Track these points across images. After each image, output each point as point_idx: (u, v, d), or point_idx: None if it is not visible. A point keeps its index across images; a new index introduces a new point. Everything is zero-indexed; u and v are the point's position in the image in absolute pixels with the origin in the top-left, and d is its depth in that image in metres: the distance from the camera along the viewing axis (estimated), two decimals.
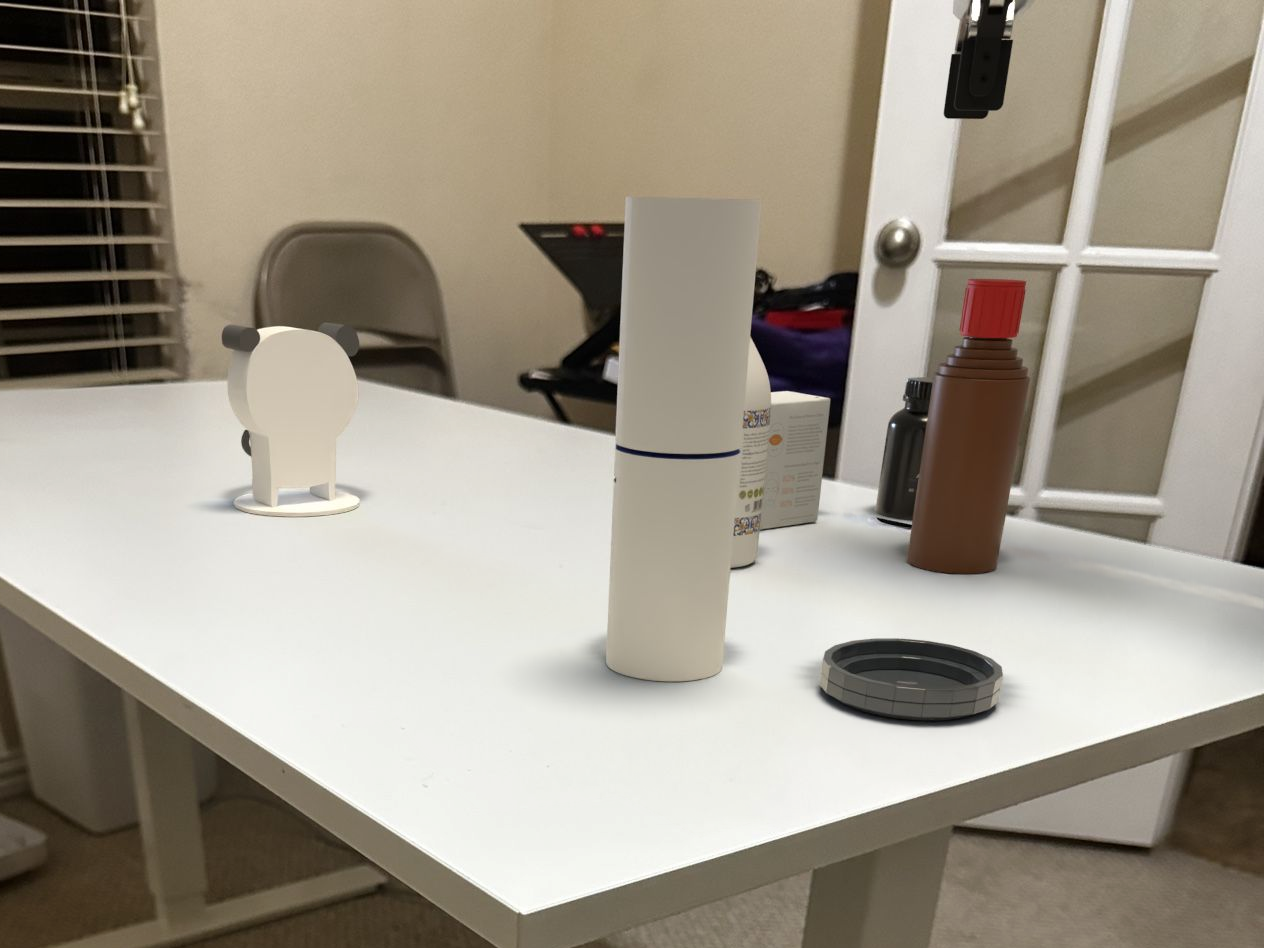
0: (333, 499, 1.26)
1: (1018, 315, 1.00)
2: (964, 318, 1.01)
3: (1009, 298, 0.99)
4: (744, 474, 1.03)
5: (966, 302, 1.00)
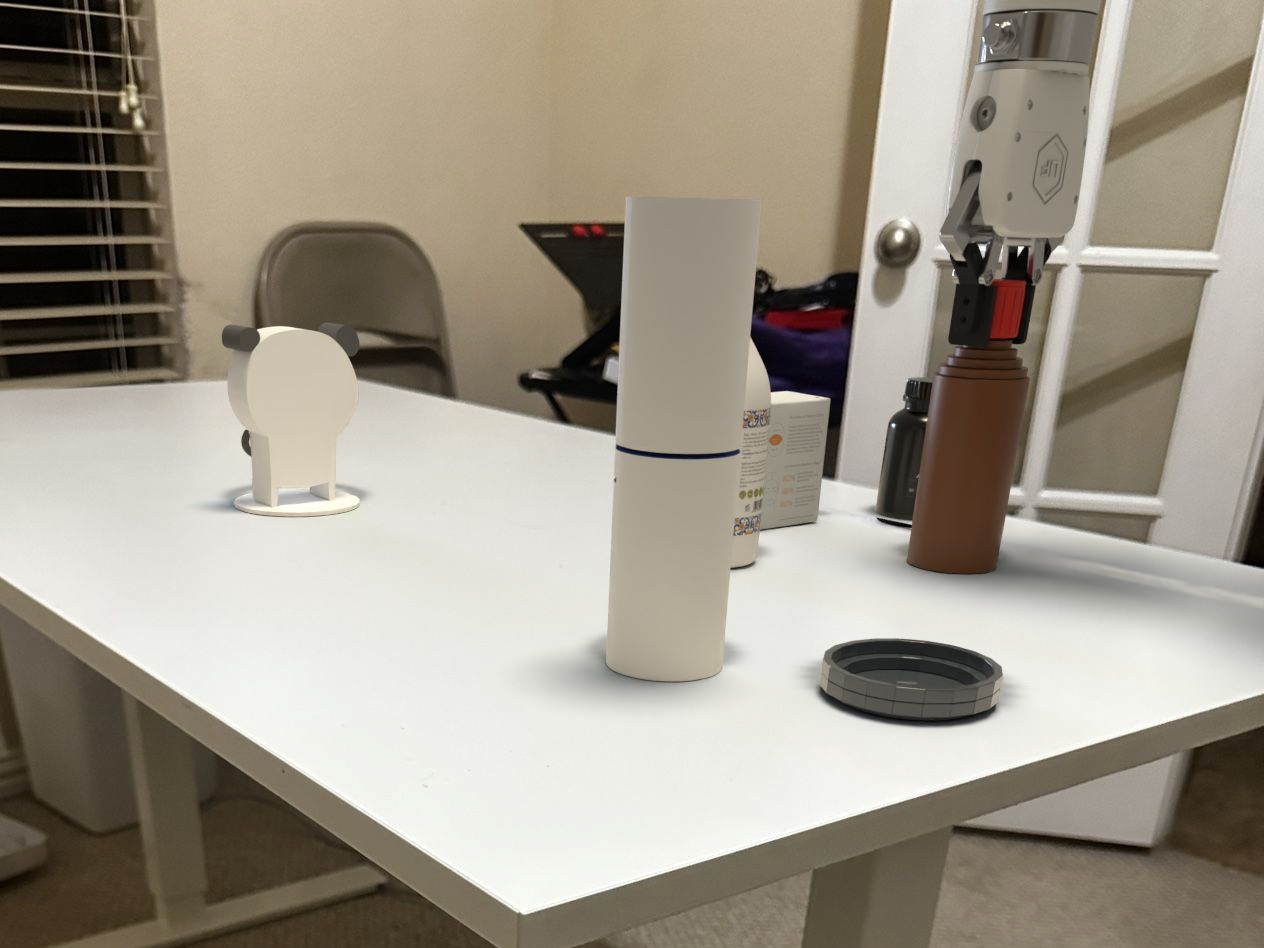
0: (333, 499, 1.26)
1: (1018, 315, 1.00)
2: None
3: (1009, 298, 0.99)
4: (744, 474, 1.03)
5: None
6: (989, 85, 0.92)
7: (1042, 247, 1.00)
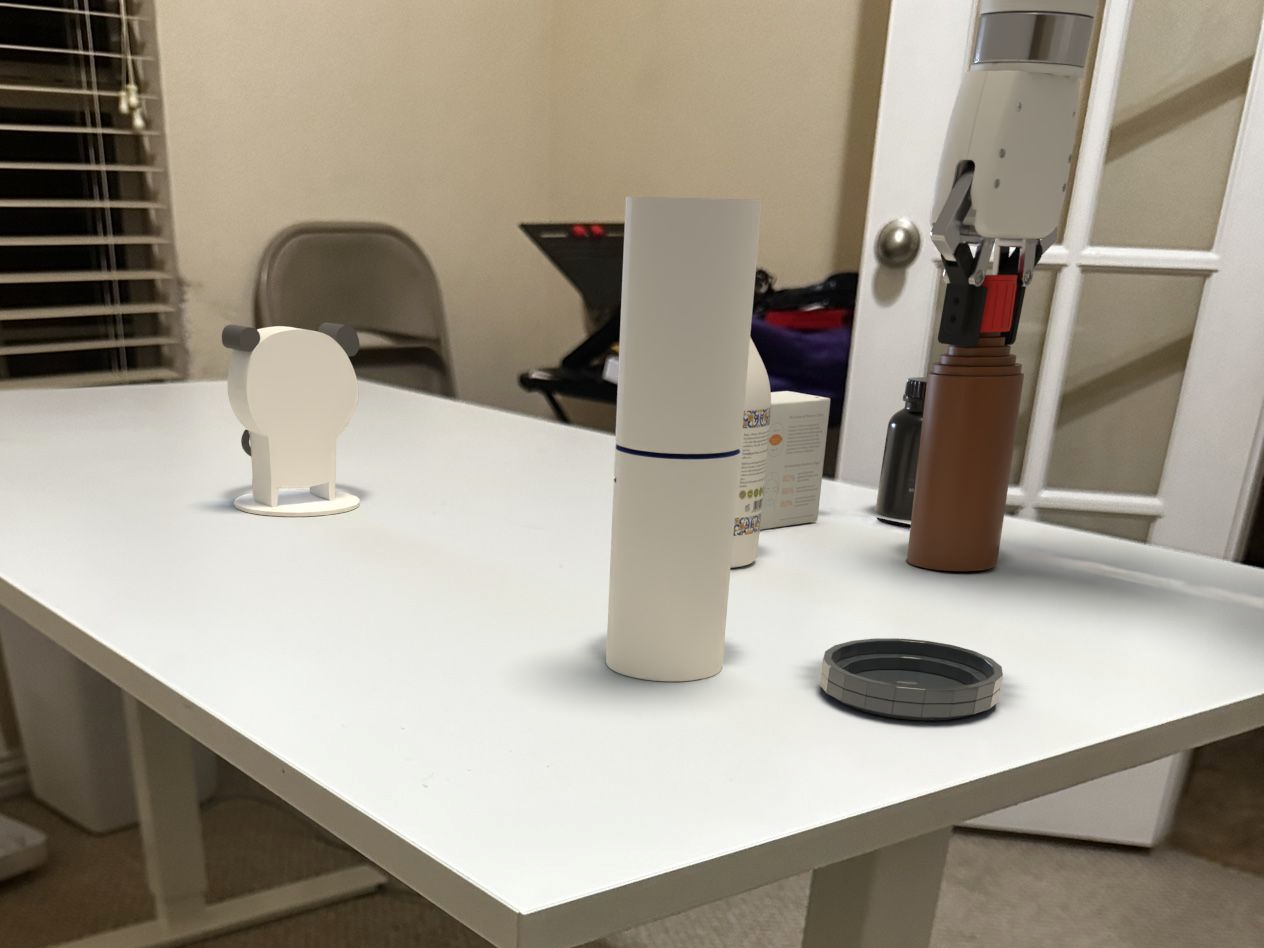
0: (333, 499, 1.26)
1: None
2: None
3: None
4: (744, 474, 1.03)
5: None
6: None
7: None
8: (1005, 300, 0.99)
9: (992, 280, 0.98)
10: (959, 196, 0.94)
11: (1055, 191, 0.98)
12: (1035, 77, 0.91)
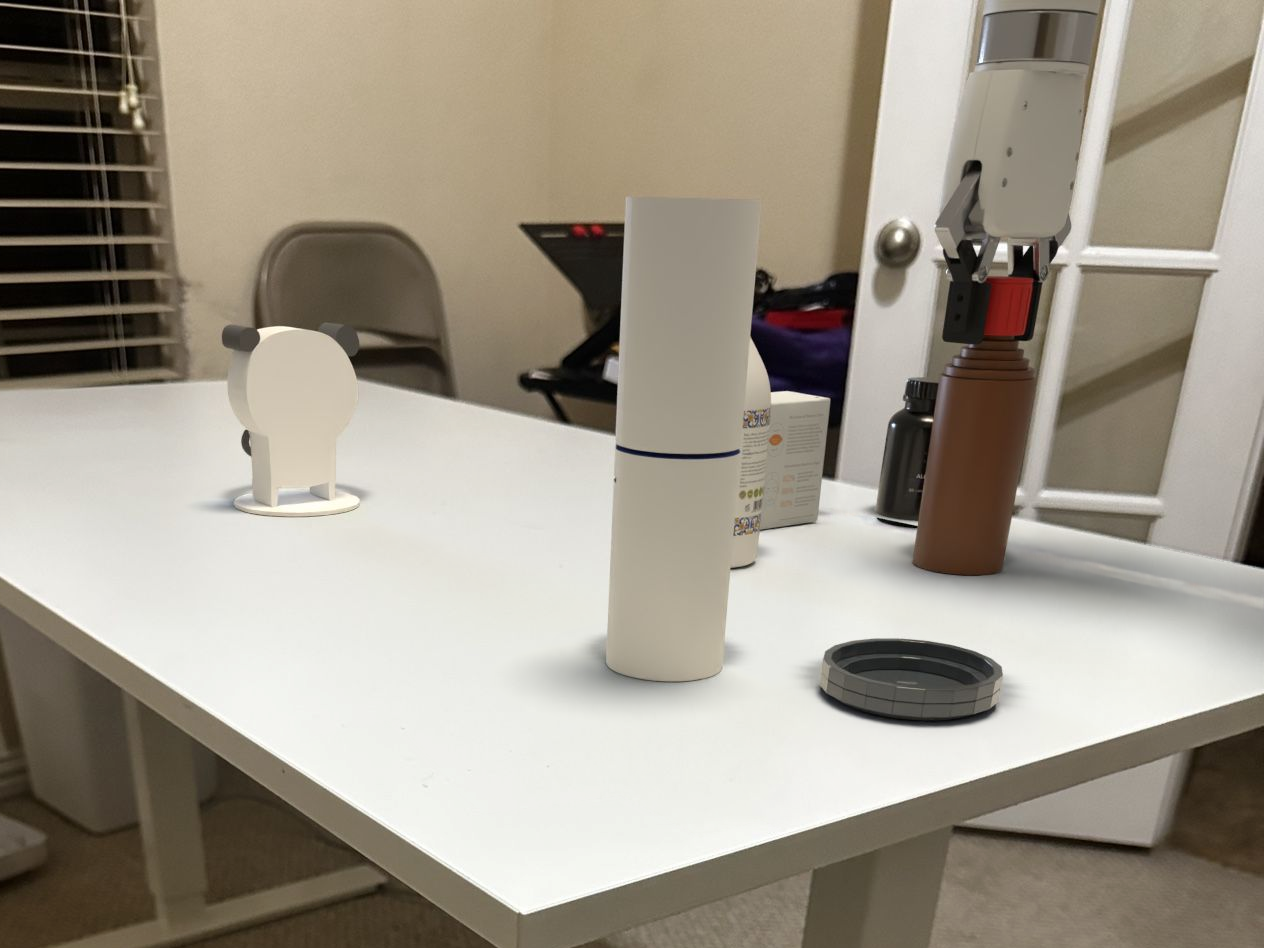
0: (333, 499, 1.26)
1: None
2: None
3: None
4: (744, 474, 1.03)
5: None
6: None
7: None
8: (1020, 303, 0.99)
9: (1008, 283, 0.98)
10: (965, 191, 0.94)
11: (1063, 190, 0.97)
12: (1040, 75, 0.91)
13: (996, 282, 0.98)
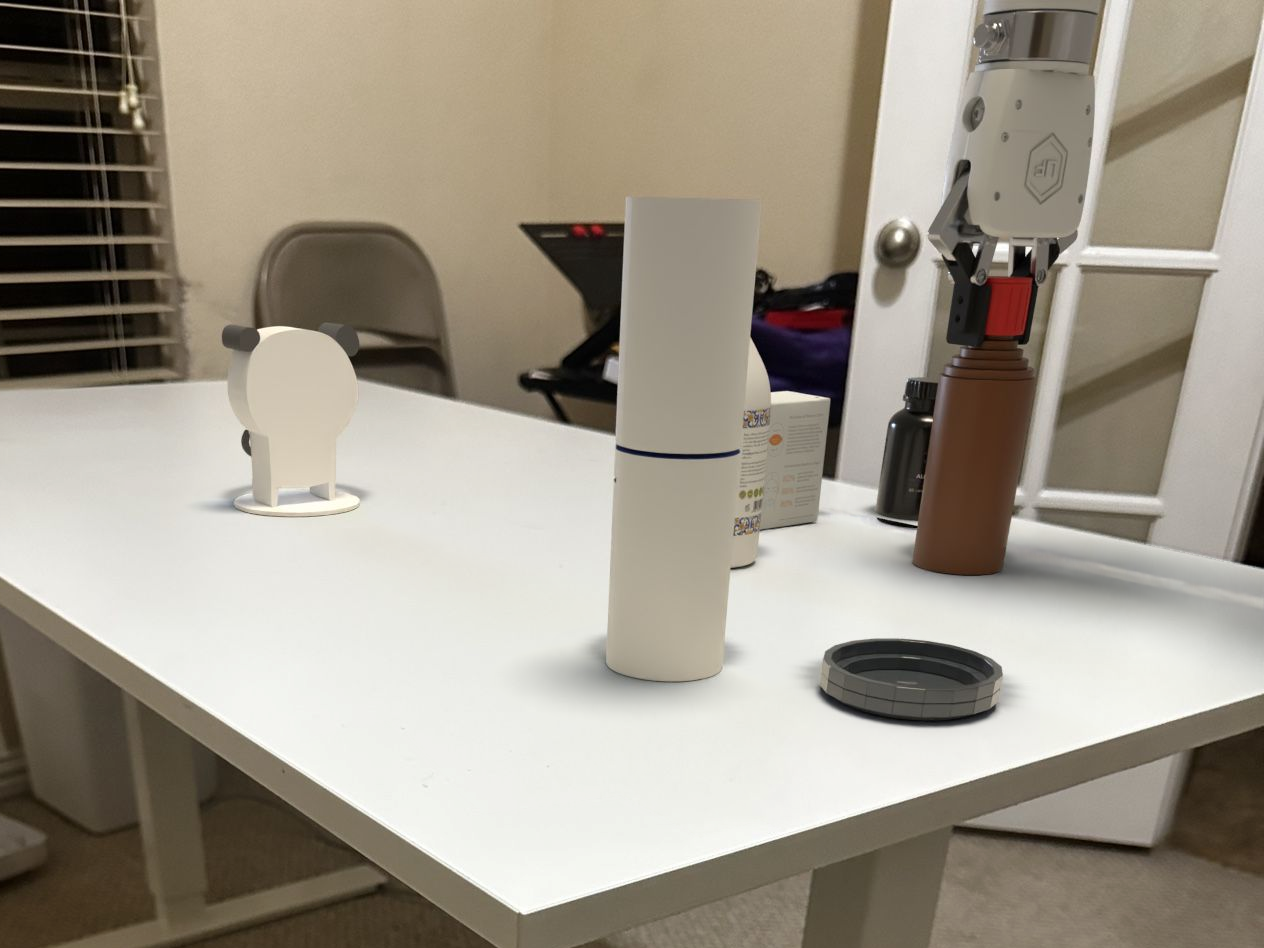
0: (333, 499, 1.26)
1: None
2: None
3: None
4: (744, 474, 1.03)
5: None
6: (980, 85, 0.92)
7: (1046, 247, 0.99)
8: (1019, 303, 0.99)
9: (1007, 283, 0.98)
10: None
11: None
12: None
13: (995, 282, 0.98)
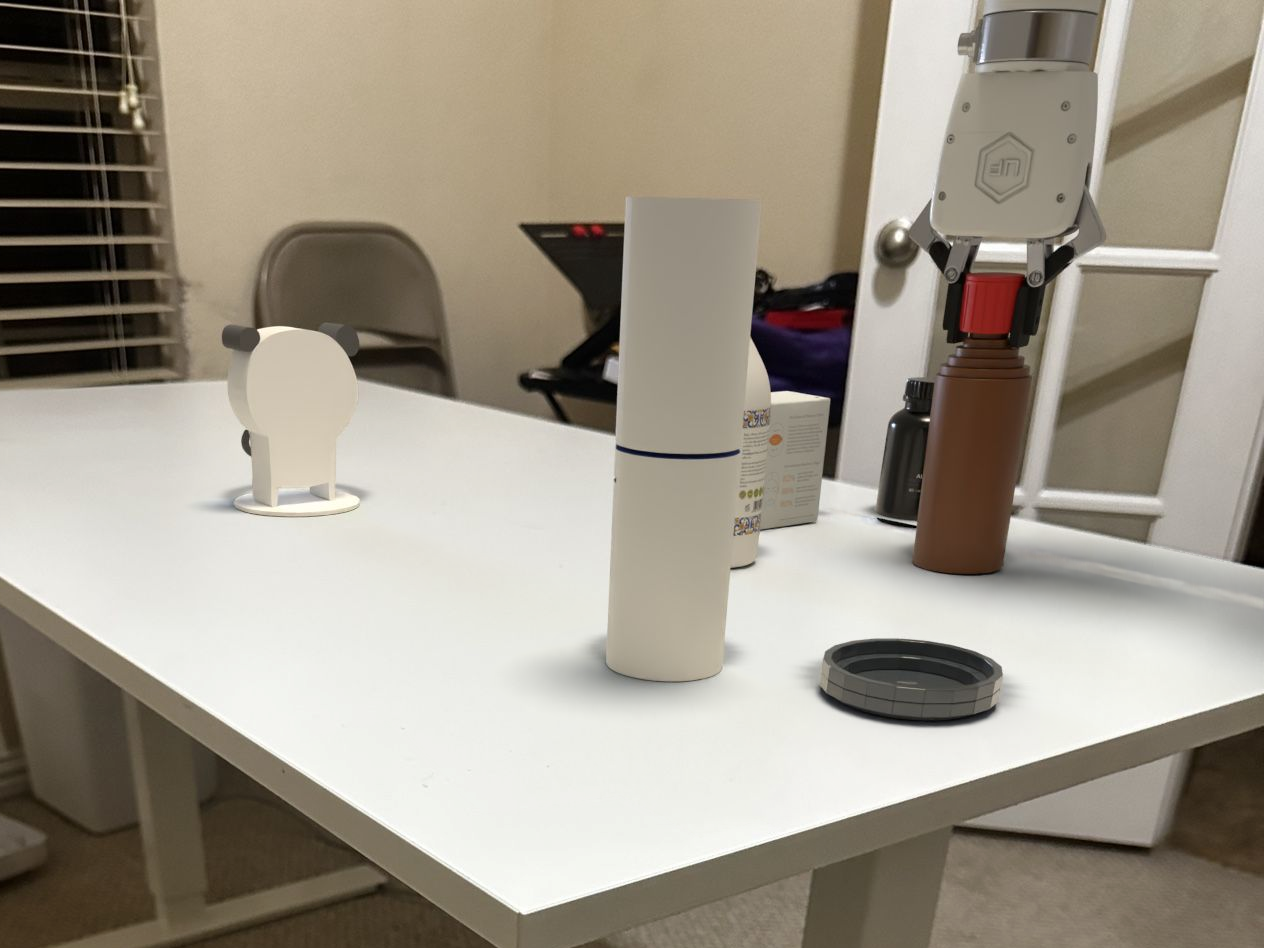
0: (333, 499, 1.26)
1: None
2: None
3: None
4: (744, 474, 1.03)
5: (1015, 299, 0.98)
6: None
7: (1040, 248, 0.96)
8: (984, 301, 0.99)
9: (972, 280, 0.99)
10: (1091, 199, 0.95)
11: None
12: None
13: (967, 279, 0.99)
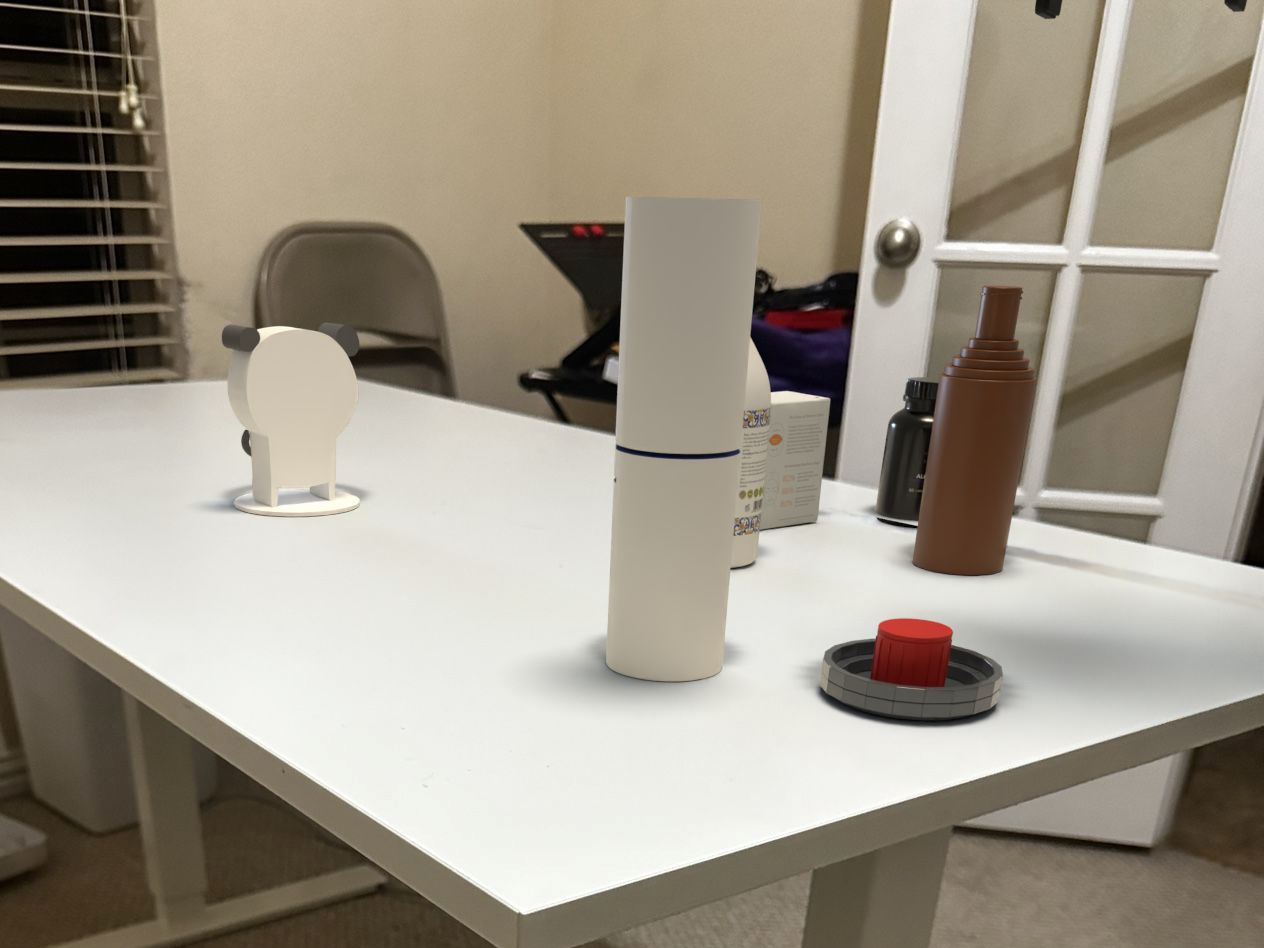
0: (333, 499, 1.26)
1: None
2: (939, 680, 0.77)
3: None
4: (744, 474, 1.03)
5: (940, 662, 0.76)
6: None
7: None
8: (900, 664, 0.76)
9: (885, 636, 0.76)
10: None
11: None
12: None
13: (879, 632, 0.77)
